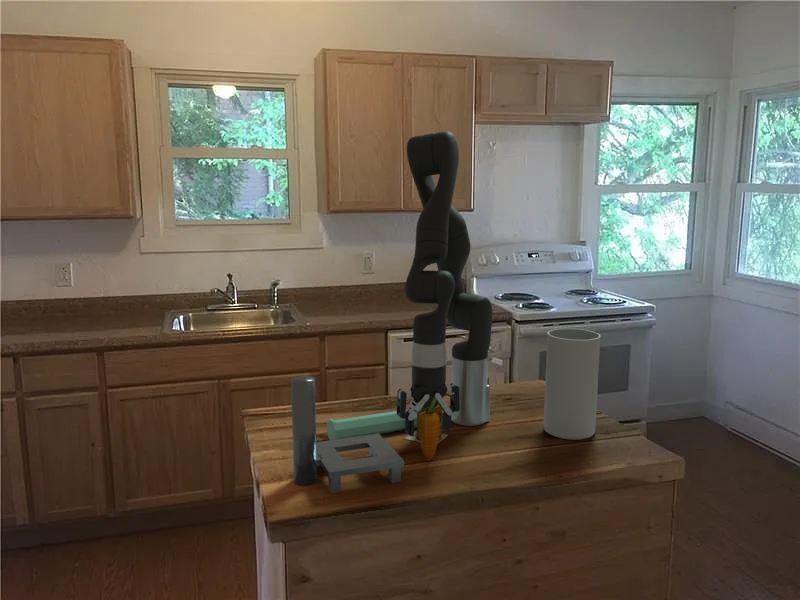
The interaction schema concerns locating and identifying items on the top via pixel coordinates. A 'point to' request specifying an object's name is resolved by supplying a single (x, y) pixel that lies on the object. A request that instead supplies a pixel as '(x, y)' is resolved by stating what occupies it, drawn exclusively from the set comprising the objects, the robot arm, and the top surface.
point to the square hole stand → (332, 445)
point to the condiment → (416, 433)
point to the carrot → (429, 430)
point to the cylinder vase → (571, 383)
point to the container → (366, 425)
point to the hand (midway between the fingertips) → (428, 432)
